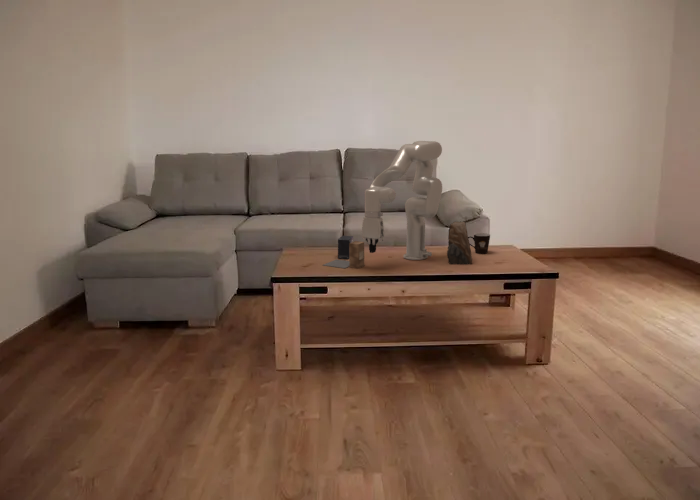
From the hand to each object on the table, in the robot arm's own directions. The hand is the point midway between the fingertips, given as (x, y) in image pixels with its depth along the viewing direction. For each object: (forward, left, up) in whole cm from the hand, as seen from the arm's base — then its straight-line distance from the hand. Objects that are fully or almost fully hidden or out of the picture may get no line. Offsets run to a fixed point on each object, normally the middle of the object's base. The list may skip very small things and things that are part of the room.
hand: (372, 252), depth 283 cm
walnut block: (+9, 0, -8) cm, 12 cm away
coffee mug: (-34, -58, -8) cm, 68 cm away
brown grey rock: (-33, -32, -8) cm, 47 cm away
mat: (+18, 0, -8) cm, 20 cm away
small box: (+24, -15, -8) cm, 30 cm away
